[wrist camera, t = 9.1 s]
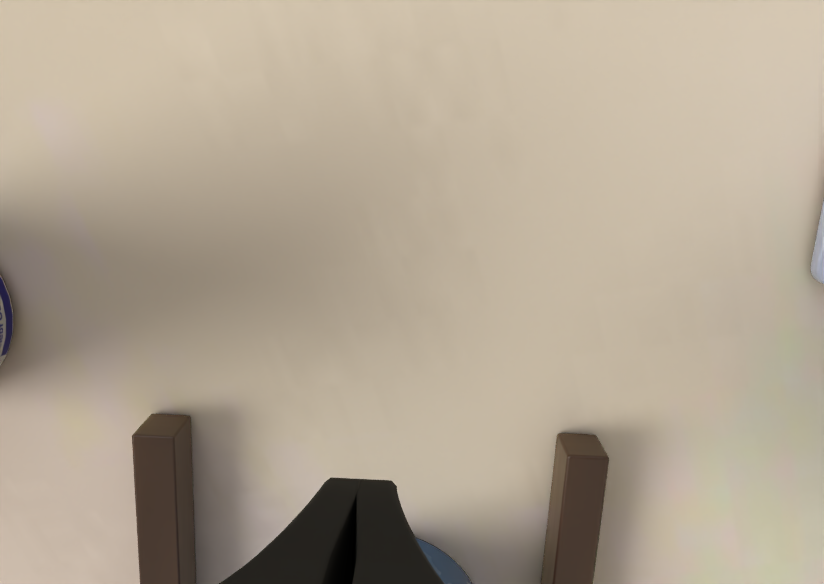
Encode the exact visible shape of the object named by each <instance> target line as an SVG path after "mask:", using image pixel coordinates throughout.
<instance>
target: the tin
mask: <svg viewBox="0 0 824 584" xmlns="http://www.w3.org/2000/svg"><path fill="white" fill-rule="evenodd" d="M416 540H417V542H418V544H419V546H420V547H421V549H422V551H423V553H424V554H425V556H426V557H427V559H428V561H429V562H430V564H431V565H432V567H433V568H434V570H435V571H436V573H437V574H438V576H439V577H440V578H441V580H442V581H443V582H444V584H472V582H471V581H470V579H469V577H468V576H467V575H466V574H465V572H464V571H463V570H462V569H461V567H460V566H459V565H458V564H457V563H456V562H455V561H454V560H453V559H451V558H450V557H449V556H448V555H446V554H445V553H444V552H442V551H441V550H440V549H438V548H436V547H434V546H433V545H431V544H429V543H427V542H425V541H423V540H420V539H418V538H416Z"/></svg>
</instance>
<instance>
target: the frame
mask: <svg viewBox="0 0 824 584" xmlns="http://www.w3.org/2000/svg"><path fill="white" fill-rule="evenodd" d="M132 444H133V463H134V481H135V499H136V517H137V535H138V553H139V571H140V584H196V572H195V541H194V510H193V479H192V449H191V418H190V416H186V415H165V414H151V415H150V416H149V417H148V419H147V420H146V421H145V422H144V423H143V424H142V425H141V426H140V427H139V428H138V430H137V431H136V432H135V433H134V434H133V435H132ZM608 463H609V457H608V455H607V454H606V452H605V450H604V448H603V447H602V445H601V443H600V441H599V440H598V438H597V436H596V435H587V434H566V433H559V434H558V435H557V441H556V450H555V459H554V468H553V478H552V487H551V496H550V505H549V514H548V523H547V533H546V542H545V551H544V560H543V569H542V578H541V584H593V578H594V571H595V563H596V555H597V548H598V540H599V532H600V525H601V517H602V509H603V502H604V494H605V486H606V479H607V471H608Z"/></svg>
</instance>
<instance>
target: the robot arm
mask: <svg viewBox="0 0 824 584" xmlns="http://www.w3.org/2000/svg"><path fill="white" fill-rule="evenodd" d="M811 274H812V276H813V278H814V279H815V280H817V281H818V282H820V283H822V284H824V200H823V205H822V210H821V215H820V220H819V225H818V231H817V236H816V241H815V246H814V251H813V256H812V261H811ZM219 584H444V582H443V581H442V580H441V578H440V577H439V576H438V574H437V573H436V571H435V570H434V568H433V567H432V565H431V564H430V562H429V561H428V559H427V557H426V556H425V554H424V553H423V551H422V549H421V547H420V546H419V544H418V542H417V540H416V538H415V536H414V534H413V532H412V530H411V528H410V526H409V524H408V522H407V520H406V517H405V515H404V512H403V510H402V507H401V504H400V501H399V498H398V494H397V486H396V485H395V484H394V483H393V482H392V481H388V480H367V479H346V478H330V479H328V480H327V481H326V482H325V483H324V484H323V486H322V487H321V488H320V490H319V491H318V492H317V493H316V495H315V496H314V497H313V498H312V499H311V501H310V502H309V503H308V504H307V505H306V507H305V508H304V509H303V510H302V511H301V512H300V513H299V514H298V515H297V517H296V518H295V519H294V520H293V521H292V522H291V523H290V524H289V525H288V526H287V527H286V528H285V529H284V530H283V531H282V532H281V533H280V534H279V535H278V536H277V537H276V538H275V539H274V540H273V541H272V542H271V543H270V544H269V545H268V546H267V547H265V548H264V549H263V550H262V551H261V552H260V553H259V554H258V555H257V556H256V557H254V558H253V559H252V560H251V561H250V562H248V563H247V564H246V565H245V566H243V567H242V568H241V569H239V570H238V571H237V572H235V573H234V574H233V575H231V576H230V577H228V578H227V579H225V580H224V581H222V582H221V583H219Z"/></svg>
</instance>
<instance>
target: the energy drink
mask: <svg viewBox="0 0 824 584" xmlns="http://www.w3.org/2000/svg"><path fill="white" fill-rule="evenodd" d="M12 335H13V309H12V304H11V299H10V295H9V293H8V290H7V288H6V285H5V283H4V280H3V278H2V277H1V275H0V366H1V364H2V363H3V361H4V359H5V357H6V355H7V353H8V351H9V348H10V344H11V340H12Z"/></svg>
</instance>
